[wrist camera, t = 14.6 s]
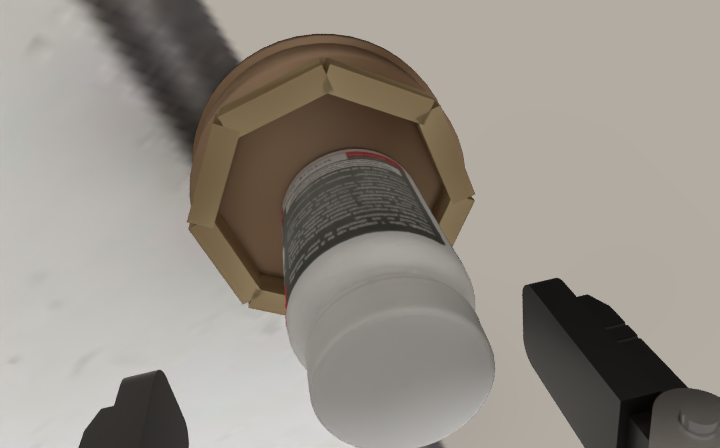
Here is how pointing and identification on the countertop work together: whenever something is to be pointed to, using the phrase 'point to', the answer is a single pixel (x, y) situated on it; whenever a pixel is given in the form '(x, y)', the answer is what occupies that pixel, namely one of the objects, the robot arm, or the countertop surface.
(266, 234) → the octagonal tan dish
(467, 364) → the pill bottle
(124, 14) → the countertop surface
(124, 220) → the countertop surface
